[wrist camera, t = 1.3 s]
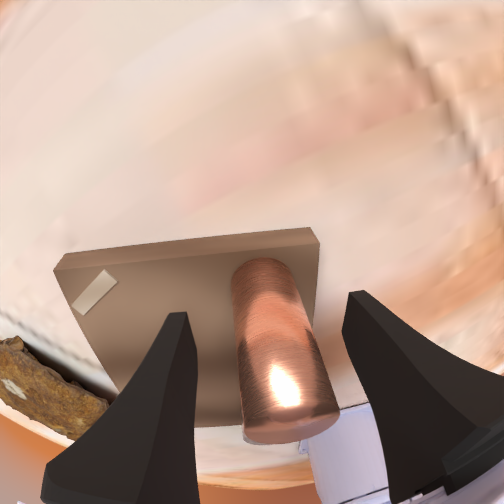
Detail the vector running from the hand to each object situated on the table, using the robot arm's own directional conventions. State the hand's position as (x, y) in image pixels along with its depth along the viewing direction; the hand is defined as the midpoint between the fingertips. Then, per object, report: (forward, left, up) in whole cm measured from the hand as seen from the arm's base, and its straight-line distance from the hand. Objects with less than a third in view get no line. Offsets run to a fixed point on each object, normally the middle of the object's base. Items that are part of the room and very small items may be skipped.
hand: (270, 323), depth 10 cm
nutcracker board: (-6, +4, -4) cm, 8 cm away
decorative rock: (-11, +17, -5) cm, 20 cm away
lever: (-6, 0, -2) cm, 6 cm away
